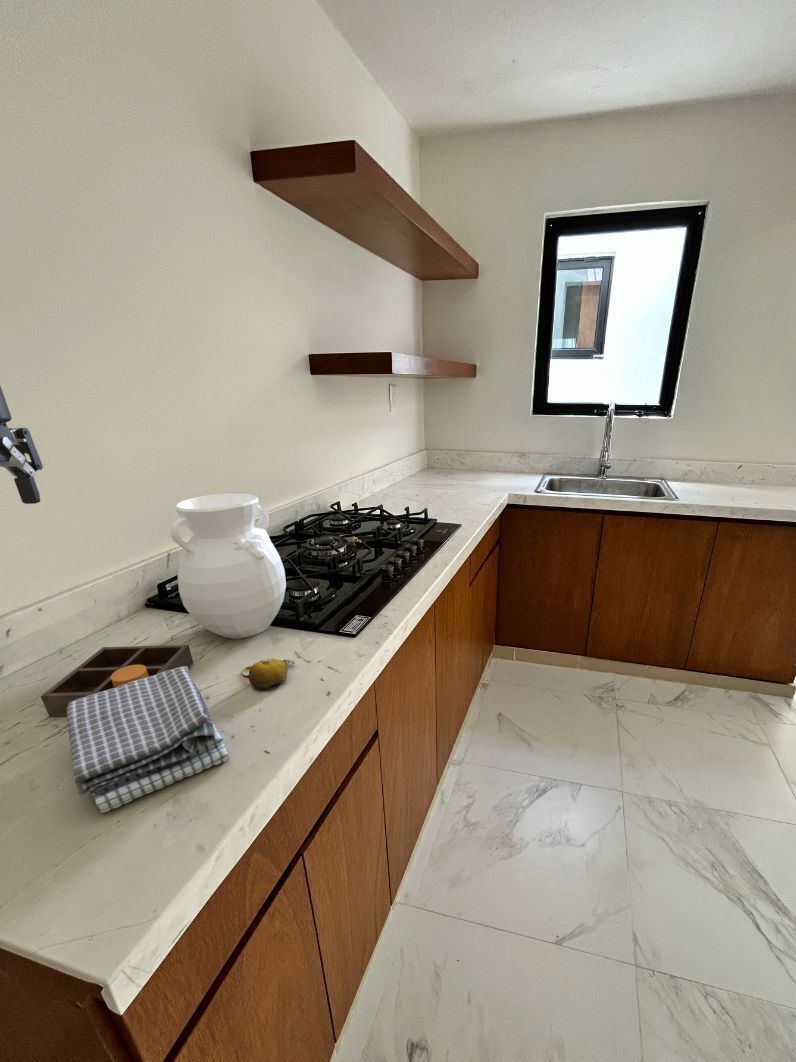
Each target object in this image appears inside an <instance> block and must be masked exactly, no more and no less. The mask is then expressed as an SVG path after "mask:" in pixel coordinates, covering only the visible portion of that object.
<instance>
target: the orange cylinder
mask: <svg viewBox="0 0 796 1062" xmlns="http://www.w3.org/2000/svg"><path fill="white" fill-rule="evenodd" d="M146 677H149V675H148V671H147V668H146V667H145V666H144V665H130V666H126V667H123V668H121V669H119V670H117V671H115V672H114V673H113V674H112V675H111V680H112V683H113V686H114V688H117V687H118V686H122V685H125V684H127V683H129V682H132V681H136V680H137V679H142V678H146Z"/></svg>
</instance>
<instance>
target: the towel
mask: <svg viewBox="0 0 796 1062" xmlns="http://www.w3.org/2000/svg"><path fill="white" fill-rule="evenodd" d="M209 713H210V712H209V708H208V706H207V704H206V702H205V701H204V697H202V693H201V691H200V690H199V688H198V687H197V685H196V682H195V680H194V679H193V678H192V675H191V673H190V668H189V669H188V667H187V666H183V667H177V668H174V669H173V670H166V671H164V672H161V673H158V674H156V675H155V676H149V677H146V678H142V679H137V680H136V681H132V682H129V683H127V684H125V685H122V686H118V687H117V688H112V689H109V690H107V691H102V692H98V693H97V694H92V695H88V696H87V697H82V698H79V699H77V700H75V701H71V702H69V703H68V707H67V716H66V718H67V720H66V721H67V728H68V729H67V730H68V736H69V743H70V752H71V754H70V755H71V763H70V764H71V767H72V775H73V777H74V784H76V786H77V787H76V788H77V791H78V792H77V793H78V795H79V796H84V795H87V794H91V796H92V798H93V799H94V802H95V805H96V807H97V808H98V809H99V813H100V814H104V813H106V812H109V811H111V810H112V809H117V808H119V807H121V806H122V805H124V804H125V805H126V804H127V803H130V802H132V801H134V800H135V799H138V798H140V797H142V796H144V795H147V794H150V793H152V792H154V791H157V790H161V789H163V788H164V787H166V786H169V785H172V784H174V783H175V782H177V781H181V780H183V779H185V778H186V777H192V776H193V775H195V774H199V773H201V772H203V770H206V769H207V770H208V769H210V768H211V767H212V766H217V765H220V764H221V763H224V762H227V761H228V760H229V759H230V754H229V752H228V751H227V750H226V749H227V747H226V745H225V744H224V738H223V737H222V736H221V734H220V732H219V730H218V729H217V727H216V725H215V723H214V721H213V720H212V718H211V714H209Z"/></svg>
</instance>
